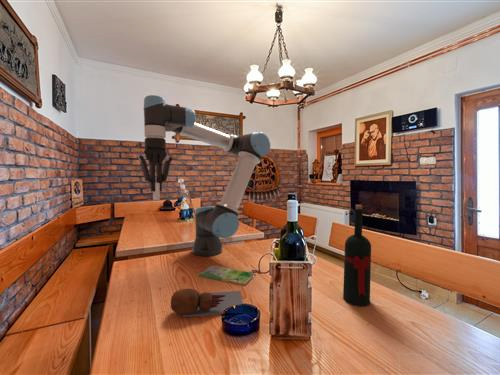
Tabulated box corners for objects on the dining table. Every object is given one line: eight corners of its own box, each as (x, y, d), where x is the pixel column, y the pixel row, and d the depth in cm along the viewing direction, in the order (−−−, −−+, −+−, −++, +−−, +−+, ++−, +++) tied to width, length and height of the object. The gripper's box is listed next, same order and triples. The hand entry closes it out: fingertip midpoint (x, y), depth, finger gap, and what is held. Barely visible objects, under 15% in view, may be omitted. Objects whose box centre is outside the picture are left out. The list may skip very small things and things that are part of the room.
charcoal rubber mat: (182, 317, 67) (182, 315, 67) (188, 295, 79) (188, 293, 79) (243, 313, 69) (243, 311, 69) (240, 292, 81) (240, 290, 81)
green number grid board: (245, 287, 86) (256, 276, 95) (245, 283, 86) (256, 272, 95) (198, 277, 94) (212, 268, 103) (198, 273, 94) (212, 265, 103)
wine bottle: (347, 309, 71) (350, 207, 69) (340, 292, 81) (342, 203, 79) (376, 312, 69) (379, 208, 68) (365, 294, 79) (368, 203, 78)
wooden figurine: (174, 285, 71) (226, 285, 73) (174, 303, 72) (225, 303, 73) (169, 298, 64) (225, 298, 66) (168, 318, 65) (224, 318, 67)
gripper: (167, 140, 100) (168, 197, 101) (133, 137, 91) (135, 200, 92) (175, 139, 94) (176, 199, 96) (141, 135, 85) (142, 201, 87)
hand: (156, 199), depth 94 cm, fingers closed
